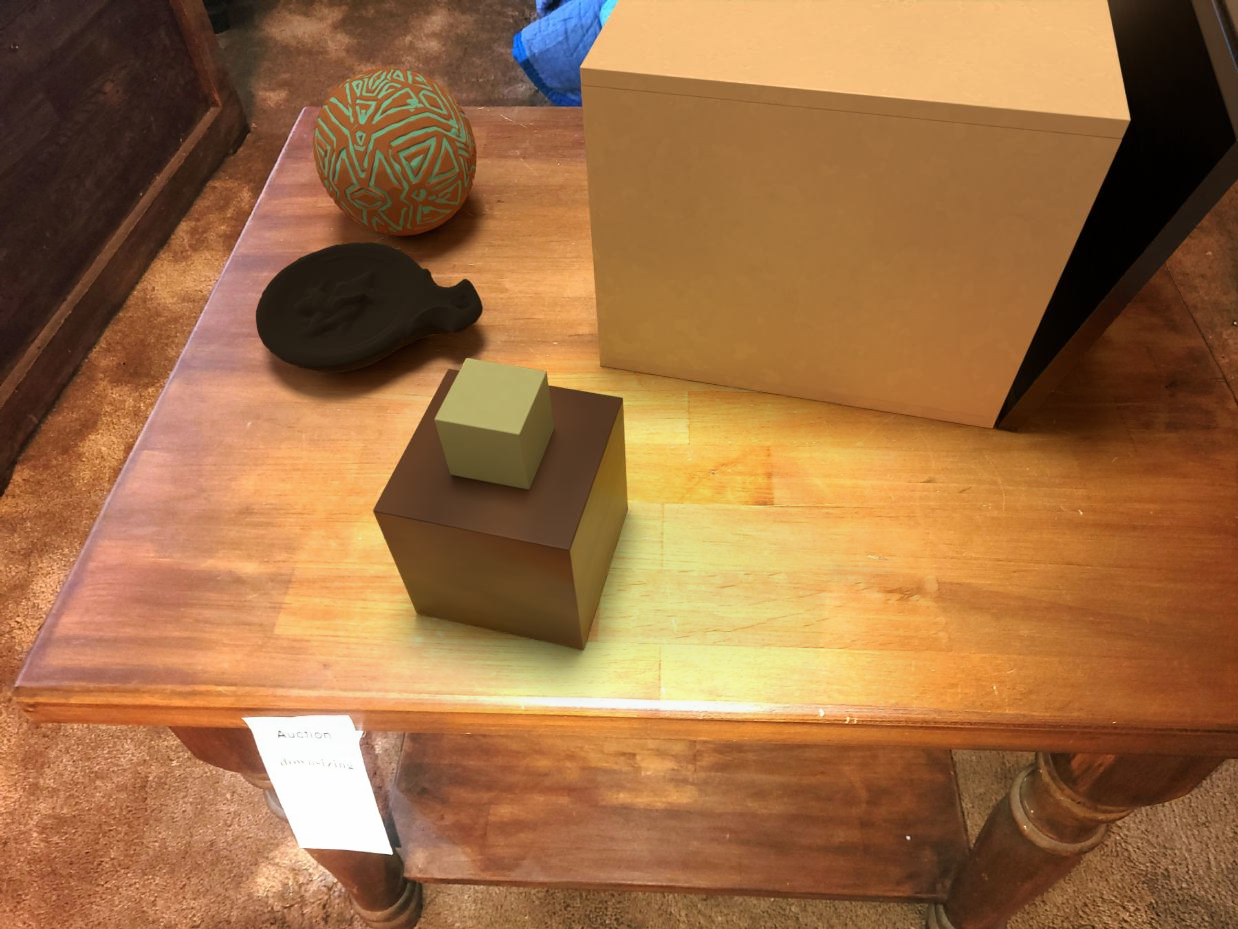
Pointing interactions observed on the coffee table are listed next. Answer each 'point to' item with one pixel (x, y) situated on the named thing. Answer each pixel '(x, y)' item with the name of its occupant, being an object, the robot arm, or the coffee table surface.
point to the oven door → (1143, 179)
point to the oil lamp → (357, 307)
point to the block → (496, 423)
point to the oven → (843, 190)
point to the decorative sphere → (394, 151)
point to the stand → (513, 525)
